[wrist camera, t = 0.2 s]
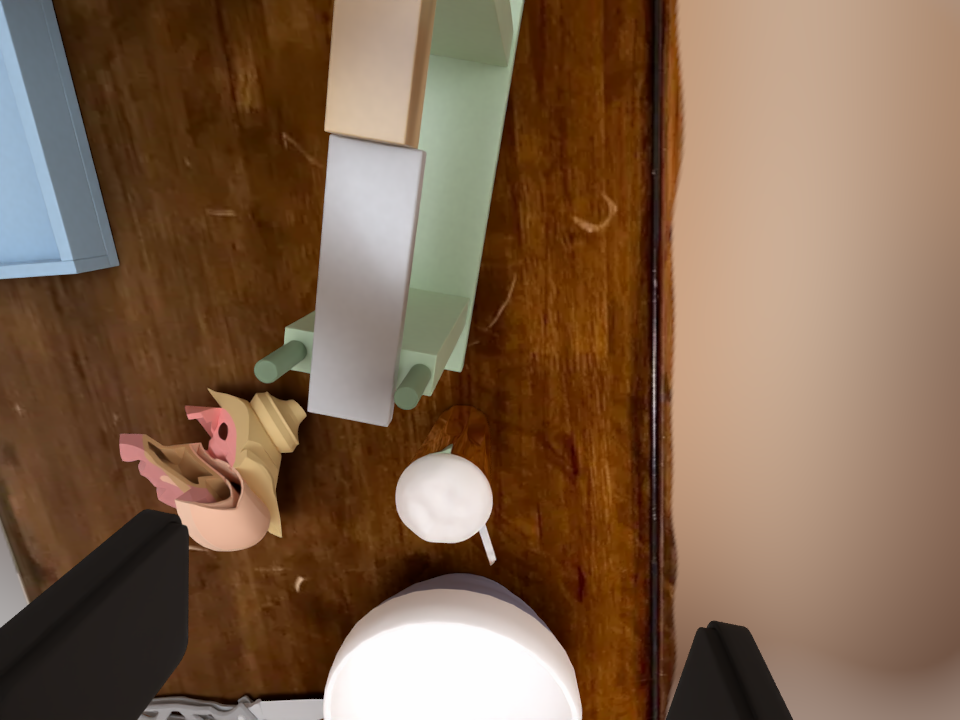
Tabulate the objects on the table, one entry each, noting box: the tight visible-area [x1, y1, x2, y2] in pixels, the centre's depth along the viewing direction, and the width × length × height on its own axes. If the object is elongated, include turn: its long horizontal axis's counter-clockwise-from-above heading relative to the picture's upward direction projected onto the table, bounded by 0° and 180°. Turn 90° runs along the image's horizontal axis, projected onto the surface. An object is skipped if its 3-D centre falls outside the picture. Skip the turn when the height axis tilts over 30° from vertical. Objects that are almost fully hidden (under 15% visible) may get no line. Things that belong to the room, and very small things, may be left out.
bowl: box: [323, 573, 582, 720], centre depth 34 cm, size 14×14×8 cm
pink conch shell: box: [120, 388, 306, 551], centre depth 33 cm, size 9×10×10 cm
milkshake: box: [396, 405, 496, 565], centre depth 29 cm, size 5×5×10 cm
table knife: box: [308, 0, 437, 427], centre depth 18 cm, size 17×3×2 cm, turn 170°
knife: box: [138, 695, 324, 720], centre depth 41 cm, size 2×18×3 cm
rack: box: [254, 0, 524, 410], centre depth 23 cm, size 20×6×14 cm, turn 170°
